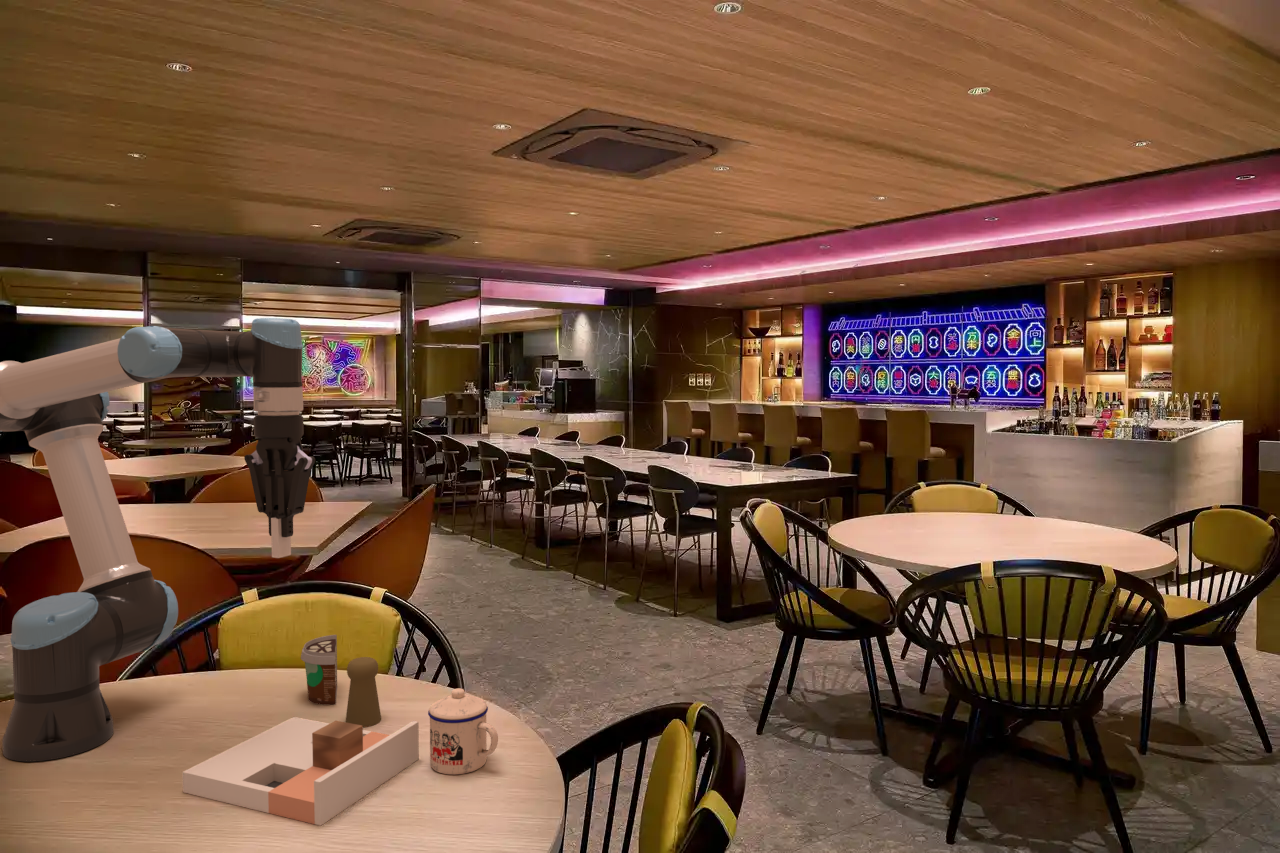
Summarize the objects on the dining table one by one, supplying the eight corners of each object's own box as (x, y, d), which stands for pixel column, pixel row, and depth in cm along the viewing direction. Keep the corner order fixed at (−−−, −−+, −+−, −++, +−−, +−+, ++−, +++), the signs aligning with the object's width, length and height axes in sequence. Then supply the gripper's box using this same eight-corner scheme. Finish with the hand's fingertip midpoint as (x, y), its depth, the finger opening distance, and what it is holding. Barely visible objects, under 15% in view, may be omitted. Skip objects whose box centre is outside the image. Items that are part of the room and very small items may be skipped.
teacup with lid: (416, 768, 135) (415, 694, 135) (455, 746, 143) (454, 676, 143) (477, 786, 130) (477, 708, 129) (514, 762, 138) (514, 689, 137)
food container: (303, 687, 169) (302, 636, 169) (337, 684, 171) (336, 633, 171) (299, 711, 158) (298, 656, 157) (335, 707, 160) (334, 653, 159)
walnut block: (312, 766, 129) (312, 733, 129) (336, 752, 134) (335, 720, 133) (340, 772, 127) (339, 738, 127) (363, 758, 132) (362, 725, 132)
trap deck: (182, 792, 127) (181, 751, 127) (294, 734, 148) (293, 699, 147) (320, 825, 118) (319, 782, 118) (418, 759, 139) (418, 721, 138)
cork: (370, 729, 150) (369, 666, 149) (338, 726, 151) (337, 663, 150) (387, 715, 156) (386, 654, 155) (356, 712, 157) (355, 652, 156)
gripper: (230, 413, 143) (233, 557, 144) (293, 415, 138) (295, 564, 139) (265, 411, 150) (268, 548, 151) (326, 413, 145) (328, 554, 146)
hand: (281, 555), depth 145 cm, fingers closed
